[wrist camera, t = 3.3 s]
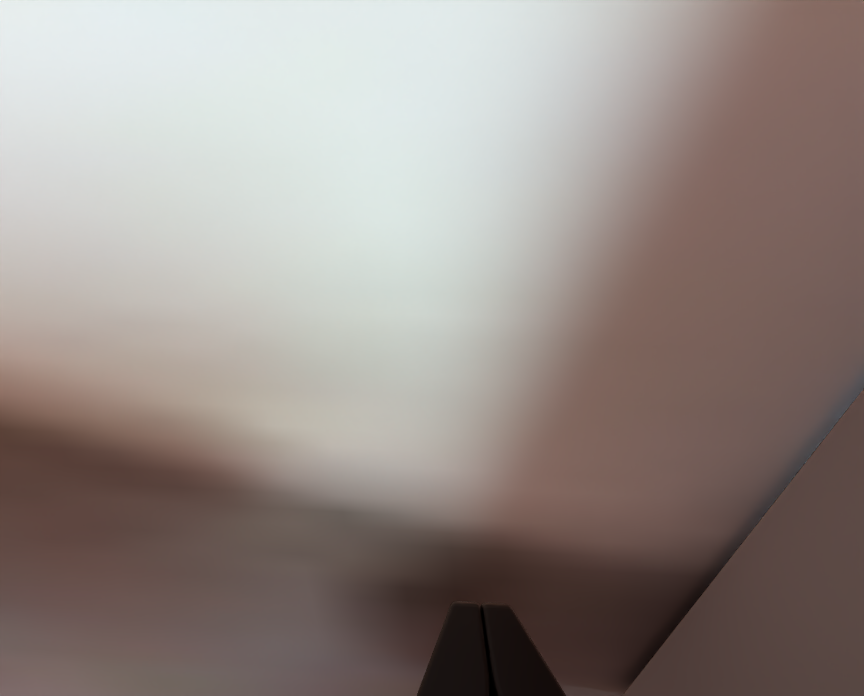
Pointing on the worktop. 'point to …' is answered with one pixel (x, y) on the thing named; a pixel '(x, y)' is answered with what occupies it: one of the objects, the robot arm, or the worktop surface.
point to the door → (783, 593)
